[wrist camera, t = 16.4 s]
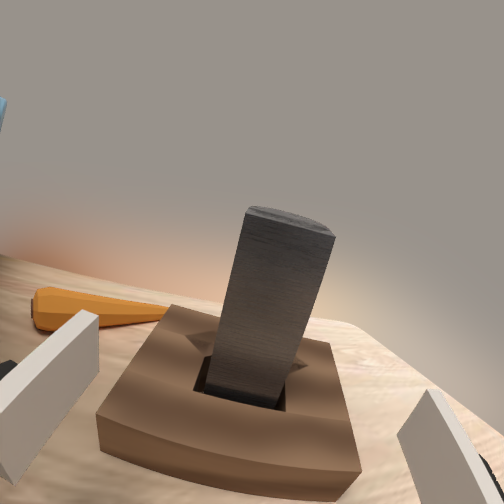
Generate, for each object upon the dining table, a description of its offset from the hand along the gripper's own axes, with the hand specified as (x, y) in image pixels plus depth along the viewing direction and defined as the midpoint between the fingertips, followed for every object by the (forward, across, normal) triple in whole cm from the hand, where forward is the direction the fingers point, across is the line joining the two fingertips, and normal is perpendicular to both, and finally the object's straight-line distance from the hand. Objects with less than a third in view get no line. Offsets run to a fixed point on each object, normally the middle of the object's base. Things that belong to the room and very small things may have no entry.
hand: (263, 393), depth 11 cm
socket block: (+10, 0, -11) cm, 15 cm away
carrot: (+18, -13, -12) cm, 25 cm away
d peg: (+10, 0, -11) cm, 15 cm away
